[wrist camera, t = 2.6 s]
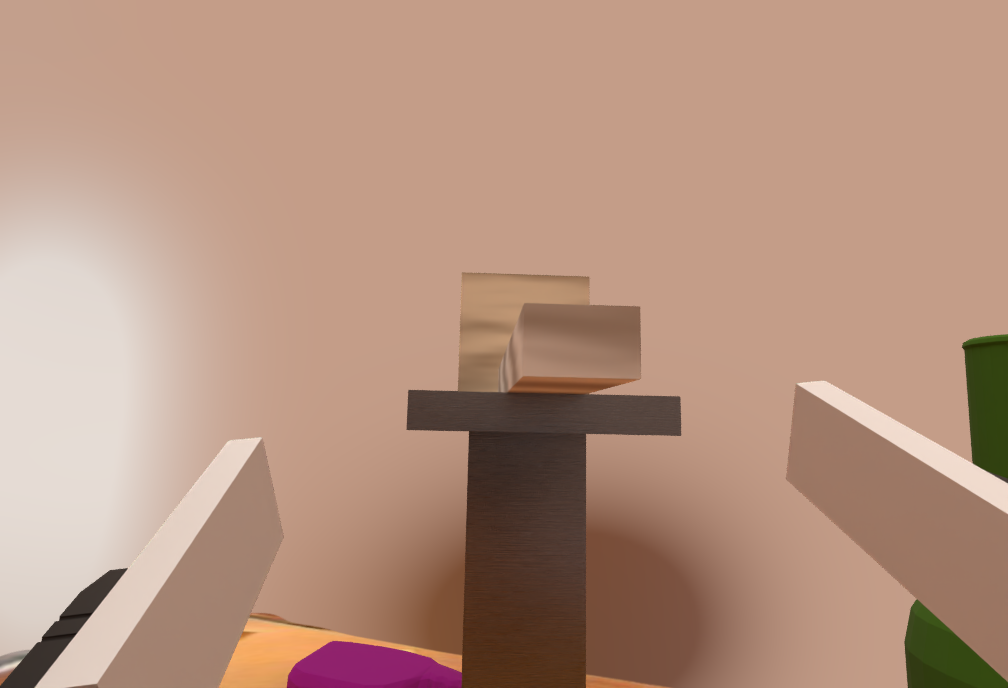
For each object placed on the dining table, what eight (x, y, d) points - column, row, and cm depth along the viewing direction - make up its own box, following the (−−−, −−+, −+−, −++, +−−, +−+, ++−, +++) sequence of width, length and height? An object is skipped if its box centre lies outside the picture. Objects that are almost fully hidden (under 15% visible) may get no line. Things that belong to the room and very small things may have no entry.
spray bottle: (334, 661, 68) (532, 696, 61) (274, 702, 58) (504, 750, 51) (336, 635, 69) (533, 667, 62) (277, 671, 58) (505, 715, 51)
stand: (695, 1075, 25) (680, 396, 29) (376, 1084, 24) (408, 389, 29) (589, 757, 49) (589, 408, 53) (426, 758, 48) (439, 405, 52)
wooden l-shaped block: (728, 381, 19) (718, 107, 21) (432, 374, 19) (444, 94, 20) (571, 407, 51) (572, 298, 52) (460, 404, 50) (464, 295, 52)
